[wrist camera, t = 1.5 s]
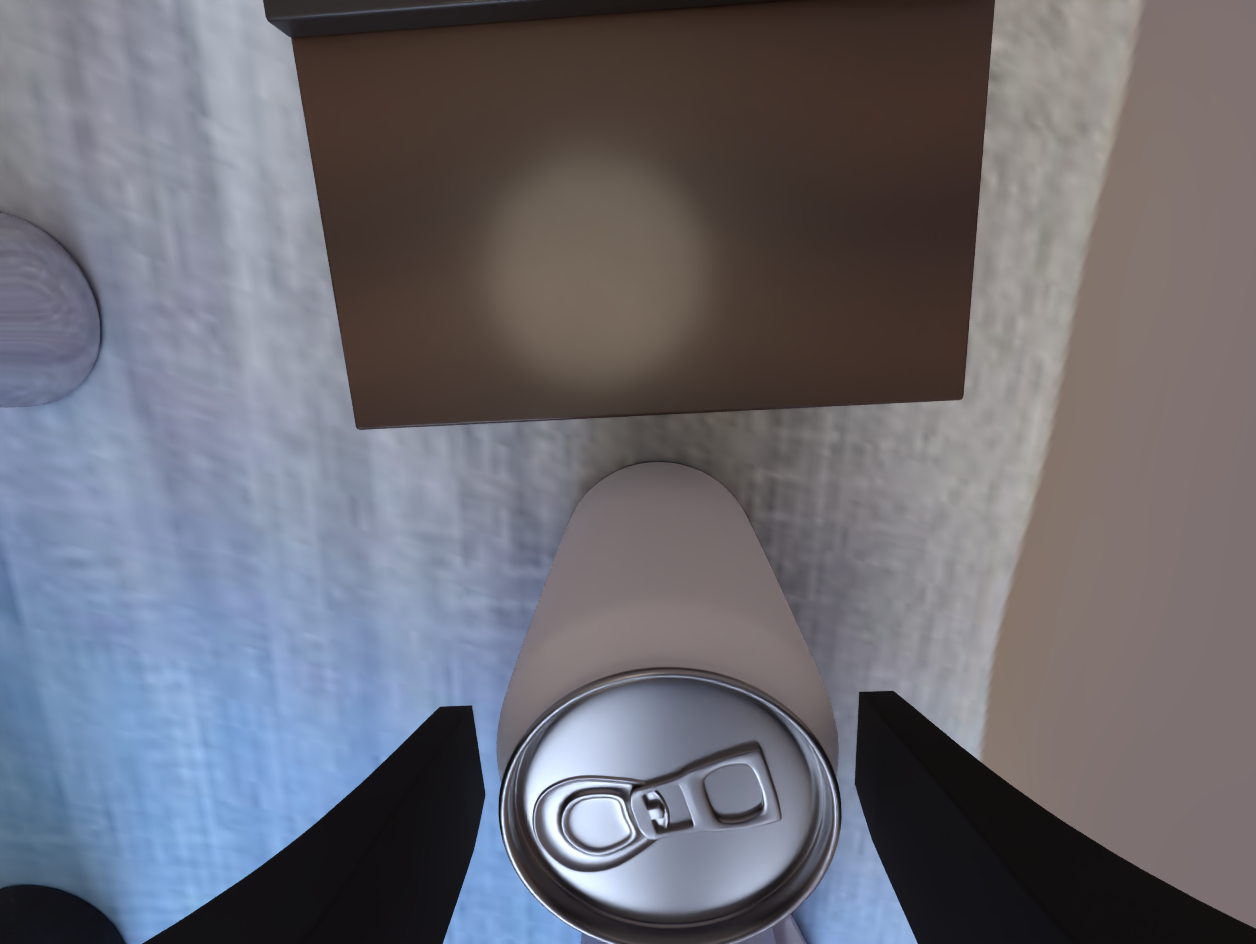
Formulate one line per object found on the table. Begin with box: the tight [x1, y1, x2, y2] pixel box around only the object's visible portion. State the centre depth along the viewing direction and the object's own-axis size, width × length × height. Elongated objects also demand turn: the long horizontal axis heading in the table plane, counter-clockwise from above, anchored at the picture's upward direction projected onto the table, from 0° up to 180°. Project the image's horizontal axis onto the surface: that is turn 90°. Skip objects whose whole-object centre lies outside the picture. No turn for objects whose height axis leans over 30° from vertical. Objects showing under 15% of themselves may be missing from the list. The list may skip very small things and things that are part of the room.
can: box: [497, 462, 841, 944], centre depth 16 cm, size 6×6×12 cm
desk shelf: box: [263, 0, 995, 430], centre depth 17 cm, size 10×16×5 cm, turn 93°
